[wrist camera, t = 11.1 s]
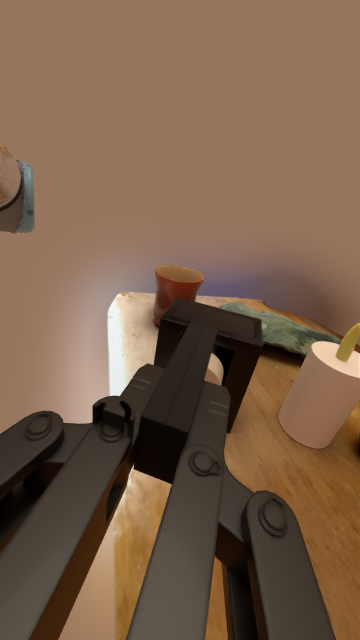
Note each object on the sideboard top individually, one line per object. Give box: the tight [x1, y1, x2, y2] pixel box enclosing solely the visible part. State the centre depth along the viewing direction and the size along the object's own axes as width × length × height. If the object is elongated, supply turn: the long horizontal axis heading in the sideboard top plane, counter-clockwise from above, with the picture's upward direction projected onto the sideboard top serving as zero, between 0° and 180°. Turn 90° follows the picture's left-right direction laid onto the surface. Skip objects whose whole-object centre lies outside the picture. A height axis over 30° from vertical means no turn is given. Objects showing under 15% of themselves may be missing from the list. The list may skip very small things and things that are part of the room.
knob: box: [204, 345, 224, 386], centre depth 26 cm, size 5×6×5 cm
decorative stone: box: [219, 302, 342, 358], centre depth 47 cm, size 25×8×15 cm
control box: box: [154, 297, 263, 433], centre depth 29 cm, size 10×6×12 cm, turn 75°
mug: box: [153, 265, 204, 326], centre depth 47 cm, size 12×9×10 cm
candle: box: [278, 323, 360, 449], centre depth 28 cm, size 6×6×15 cm
